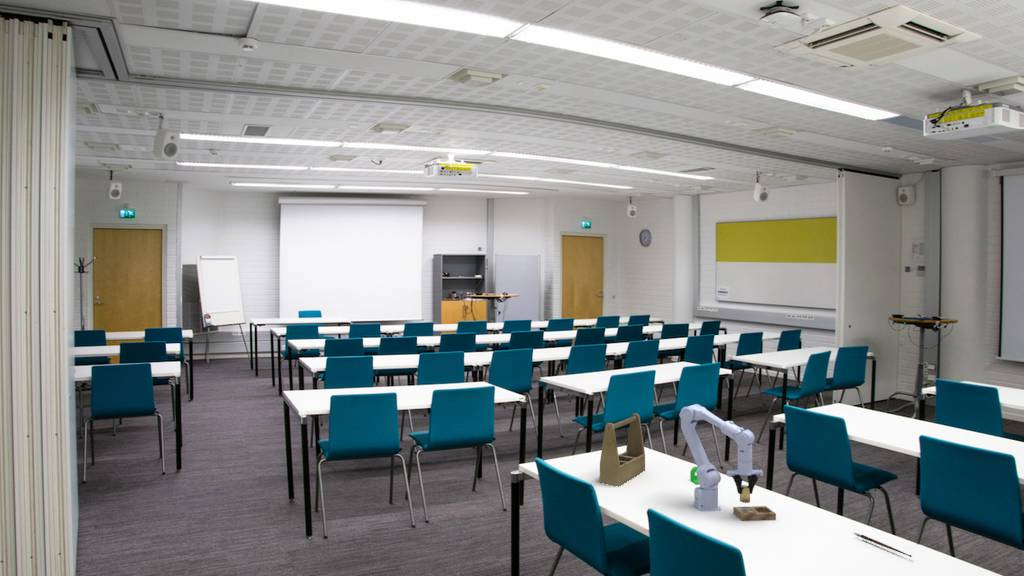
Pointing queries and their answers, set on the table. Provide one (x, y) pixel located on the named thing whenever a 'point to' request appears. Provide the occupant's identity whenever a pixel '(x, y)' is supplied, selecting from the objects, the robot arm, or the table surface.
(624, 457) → the caddy
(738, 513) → the pocket board
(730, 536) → the table surface
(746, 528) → the table surface
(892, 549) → the pen
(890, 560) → the table surface
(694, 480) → the mechanical part
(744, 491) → the cylinder
